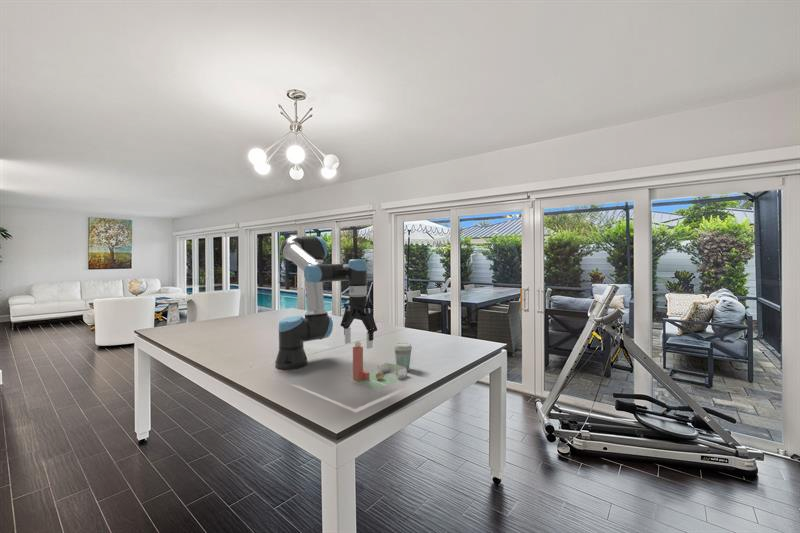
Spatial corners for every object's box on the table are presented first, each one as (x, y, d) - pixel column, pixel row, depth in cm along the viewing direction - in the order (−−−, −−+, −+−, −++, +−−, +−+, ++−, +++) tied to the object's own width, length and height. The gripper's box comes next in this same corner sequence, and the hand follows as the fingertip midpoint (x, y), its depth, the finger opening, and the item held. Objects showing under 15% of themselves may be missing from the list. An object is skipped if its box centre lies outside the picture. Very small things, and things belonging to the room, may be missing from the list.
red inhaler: (349, 378, 150) (349, 340, 149) (358, 375, 153) (357, 338, 153) (361, 382, 145) (360, 343, 144) (369, 379, 149) (369, 340, 148)
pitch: (346, 381, 149) (346, 379, 149) (369, 373, 159) (369, 370, 159) (376, 392, 137) (376, 389, 137) (399, 382, 148) (399, 380, 148)
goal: (377, 376, 156) (377, 365, 156) (386, 372, 161) (386, 361, 161) (398, 382, 148) (398, 370, 148) (406, 378, 153) (406, 367, 153)
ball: (373, 379, 148) (373, 371, 148) (379, 377, 151) (379, 369, 151) (379, 381, 146) (379, 373, 146) (385, 379, 149) (385, 371, 149)
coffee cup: (390, 369, 165) (390, 344, 164) (402, 365, 171) (402, 341, 171) (403, 374, 159) (403, 348, 159) (415, 369, 165) (415, 344, 165)
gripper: (332, 294, 153) (332, 342, 153) (372, 298, 136) (373, 352, 137) (345, 293, 158) (345, 339, 159) (385, 296, 142) (386, 348, 143)
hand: (358, 345), depth 148 cm, fingers open, 13 cm apart
